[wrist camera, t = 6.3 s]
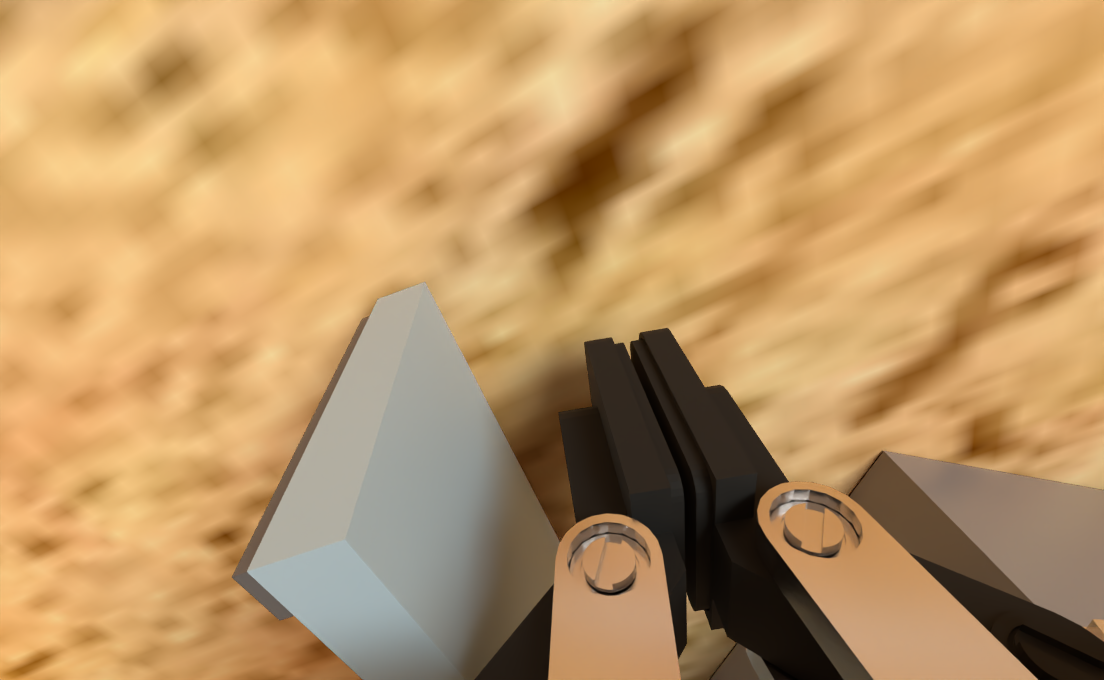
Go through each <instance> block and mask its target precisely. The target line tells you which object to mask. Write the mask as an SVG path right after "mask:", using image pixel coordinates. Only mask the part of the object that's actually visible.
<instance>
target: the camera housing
mask: <svg viewBox="0 0 1104 680" xmlns="http://www.w3.org/2000/svg"><path fill="white" fill-rule="evenodd" d="M849 497H850V498H851V499H852V500H854V501H855V502H856V503H858V504H859V505H860V506H861V507H862V508H863V509H864V510H865V511H866V512H867V513H868V514H869V515H871V516H872V517H873V518H874V519H875V520H876V521H877V522H878V523H879V524H880V525H881V526H882V527H883V528H884V529H885V530H886V531H887V532H888V533H889V534H890V535H891V536H892V537H893V538H894V539H895V540H896V541H897V542H898V543H899V544H900V545H901V546H902V547H903V548H904V549H905V550H906V551H907V552H908V553H911V554H913V555H916V556H918V557H921V558H923V559H925V560H928V561H930V562H933V563H935V564H938V565H940V566H943V567H945V568H947V569H950V570H952V571H955V572H957V573H960V574H962V575H965V576H967V577H969V578H972V579H974V580H977V581H979V582H982V583H984V584H987V585H989V586H991V587H994V588H996V589H999V590H1001V591H1004V592H1006V593H1009V594H1011V595H1013V596H1016V597H1018V598H1021V599H1023V600H1026V601H1028V602H1030V603H1033V604H1035V605H1038V606H1040V607H1043V608H1045V609H1048V610H1050V611H1052V612H1055V613H1057V614H1059V615H1061V616H1063V617H1065V618H1067V619H1069V620H1071V621H1073V622H1075V623H1077V624H1079V625H1081V626H1082V627H1088V625H1089V624H1090V622H1091V621H1092V619H1099V620H1104V490H1100V489H1095V488H1089V487H1083V486H1078V485H1072V484H1066V483H1061V482H1055V481H1050V480H1044V479H1038V478H1033V477H1027V476H1021V475H1016V474H1010V473H1005V472H999V471H993V470H988V469H982V468H976V467H971V466H965V465H960V464H954V463H948V462H943V461H937V460H932V459H926V458H920V457H915V456H909V455H903V454H898V453H892V452H887V451H883V453H882V454H881V455H880V457H879V458H878V459H877V461H876V462H875V463H874V464H873V466H872V467H871V468H870V470H869V471H868V472H867V474H866V475H865V476H864V478H863V479H862V480H861V482H860V483H859V484H858V486H857V487H856V488H855V489H854V491H853V492H852V493H851V495H850V496H849ZM710 680H760V679H759V677H758V675H757V674H756V672H755V670H754V668H753V667H752V664H751V662H750V659H749V657H748V655H747V652H746V648H745V647H743V646H742V645H740V644H739V643H738V644H737V645H736V646H735V648H734V649H733V650H732V652H731V653H730V654H729V655H728V657H727V658H726V659H725V661H724V662H723V663H722V665H721V666H720V667H719V669H718V670H717V671H716V673H715V674H714V675H713V677H712V678H711V679H710Z"/></svg>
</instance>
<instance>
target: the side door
mask: <svg viewBox="0 0 1104 680" xmlns="http://www.w3.org/2000/svg"><path fill="white" fill-rule="evenodd" d="M559 543H560V541H559V539H558V537H557V535H556V534H555V532H554V530H553V528H552V526H551V524H550V522H549V520H548V518H547V516H546V514H545V512H544V510H543V508H542V507H541V505H540V503H539V501H538V499H537V497H536V495H535V493H534V491H533V489H532V487H531V485H530V483H529V481H528V480H527V478H526V476H525V474H524V472H523V470H522V468H521V466H520V464H519V462H518V460H517V458H516V456H515V455H514V453H513V451H512V449H511V447H510V445H509V443H508V441H507V439H506V437H505V435H504V433H503V431H502V429H501V428H500V426H499V424H498V422H497V420H496V418H495V416H494V414H493V412H492V410H491V408H490V406H489V404H488V402H487V401H486V399H485V397H484V395H483V393H482V391H481V389H480V387H479V385H478V383H477V381H476V379H475V377H474V375H473V374H472V372H471V370H470V368H469V366H468V364H467V362H466V360H465V358H464V356H463V354H462V352H461V350H460V348H459V347H458V345H457V343H456V341H455V339H454V337H453V335H452V333H451V331H450V329H449V327H448V325H447V323H446V321H445V320H444V318H443V316H442V314H441V312H440V310H439V308H438V306H437V304H436V302H435V300H434V298H433V296H432V294H431V293H430V291H429V289H428V287H427V285H426V283H425V282H423V283H420V284H418V285H415V286H412V287H410V288H407V289H404V290H401V291H399V292H396V293H393V294H390V295H388V296H385V297H382V298H380V299H378V300H377V302H376V304H375V306H374V308H373V310H372V312H371V314H370V316H369V317H366V318H364V319H362V320H361V322H360V324H359V326H358V328H357V330H356V332H355V334H354V336H353V338H352V340H351V342H350V344H349V346H348V348H347V350H346V352H345V354H344V356H343V358H342V360H341V362H340V364H339V366H338V368H337V370H336V372H335V374H334V376H333V378H332V380H331V382H330V384H329V386H328V388H327V390H326V392H325V394H324V396H323V397H322V399H321V401H320V403H319V405H318V407H317V409H316V411H315V413H314V415H313V417H312V419H311V421H310V423H309V425H308V427H307V429H306V431H305V433H304V435H303V437H302V439H301V441H300V443H299V445H298V447H297V449H296V451H295V453H294V455H293V457H292V459H291V461H290V463H289V465H288V467H287V469H286V471H285V473H284V475H283V477H282V479H281V481H280V483H279V485H278V487H277V489H276V491H275V493H274V495H273V497H272V498H271V500H270V502H269V504H268V506H267V508H266V510H265V512H264V514H263V516H262V518H261V520H260V522H259V524H258V526H257V528H256V530H255V532H254V534H253V536H252V538H251V540H250V542H249V544H248V546H247V548H246V550H245V552H244V554H243V556H242V558H241V560H240V562H239V564H238V566H237V568H236V570H235V572H234V574H233V576H232V578H233V579H234V580H235V581H236V582H238V583H239V584H240V585H241V586H242V587H243V588H244V589H245V590H246V591H248V592H249V593H250V594H251V595H252V596H253V597H254V598H255V599H256V600H258V601H259V602H260V603H261V604H262V605H263V606H264V607H265V608H266V609H268V610H269V611H270V612H271V613H272V614H273V615H274V616H275V617H276V618H278V619H279V620H283V619H286V618H289V617H292V616H295V617H296V618H297V619H298V620H299V621H300V622H301V623H302V624H303V625H305V626H306V627H307V628H308V629H309V630H310V631H311V632H312V633H313V634H314V635H315V636H316V637H317V638H318V639H320V640H321V641H322V642H323V643H324V644H325V645H326V646H327V647H328V648H329V649H330V650H331V651H332V652H334V653H335V654H336V655H337V656H338V657H339V658H340V659H341V660H342V661H343V662H344V663H345V664H346V665H347V666H349V667H350V668H351V669H352V670H353V671H354V672H355V673H356V674H357V675H358V676H359V677H360V678H361V679H363V680H474V679H475V678H476V677H477V676H478V675H479V673H480V672H481V671H482V670H483V668H484V667H485V666H486V665H487V664H488V662H489V661H490V660H491V659H492V658H493V656H494V655H495V654H496V653H497V652H498V650H499V649H500V648H501V647H502V645H503V644H504V643H505V642H506V641H507V639H508V638H509V637H510V636H511V635H512V633H513V632H514V631H515V630H516V629H517V627H518V626H519V625H520V624H521V623H522V621H523V620H524V619H525V618H526V616H527V615H528V614H529V613H530V612H531V610H532V609H533V608H534V607H535V606H536V604H537V603H538V602H539V601H540V600H541V598H542V597H543V596H544V595H545V593H546V592H547V591H548V590H549V589H550V587H551V586H552V585H553V584H554V576H555V559H556V555H557V550H558V546H559Z"/></svg>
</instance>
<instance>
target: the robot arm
mask: <svg viewBox="0 0 1104 680" xmlns="http://www.w3.org/2000/svg"><path fill="white" fill-rule="evenodd" d="M584 346H585V355H586V363H587V371H588V379H589V386H590V394H591V402H592V407H587V408H581V409H575V410H569V411H563V412H558V413H559V420H560V426H561V432H562V438H563V444H564V450H565V457H566V463H567V469H568V475H569V481H570V487H571V494H572V500H573V506H574V512H575V518H576V524H575V525H574V526H573V527H572V528H571V529H570V530H568V531H567V532H566V534H565V535H564V537H563V539H562V540H561V542H560V543H559V546H558V550H557V555H556V559H555V576H554V584H553V585H552V586H551V587H550V589H549V590H548V591H547V592H546V593H545V595H544V596H543V597H542V598H541V600H540V601H539V602H538V603H537V604H536V606H535V607H534V608H533V609H532V610H531V612H530V613H529V614H528V615H527V616H526V618H525V619H524V620H523V621H522V623H521V624H520V625H519V626H518V627H517V629H516V630H515V631H514V632H513V633H512V635H511V636H510V637H509V638H508V639H507V641H506V642H505V643H504V644H503V645H502V647H501V648H500V649H499V650H498V652H497V653H496V654H495V655H494V656H493V658H492V659H491V660H490V661H489V662H488V664H487V665H486V666H485V667H484V668H483V670H482V671H481V672H480V673H479V675H478V676H477V677H476V678H475V679H474V680H681V677H680V670H679V663H678V659H679V657H680V655H681V653H682V651H683V650H684V648H685V646H686V644H687V616H686V592H687V595H688V598H689V601H690V604H691V606H692V608H693V610H694V611H699V610H704V611H705V614H706V616H707V619H708V622H709V624H710V627H711V630H714V629H720V628H724V629H725V632H726V634H727V637H729V638H730V639H732V640H734V641H735V642H737V643H739V644H740V645H742V646H743V647H745V648H746V652H747V655H748V657H749V659H750V662H751V664H752V667H753V668H754V670H755V672H756V674H757V675H758V677H759V679H760V680H1104V620H1099V619H1092V621H1091V622H1090V624H1089V625H1088V627H1082V626H1081V625H1079V624H1077V623H1075V622H1073V621H1071V620H1069V619H1067V618H1065V617H1063V616H1061V615H1059V614H1057V613H1055V612H1052V611H1050V610H1048V609H1045V608H1043V607H1040V606H1038V605H1035V604H1033V603H1030V602H1028V601H1026V600H1023V599H1021V598H1018V597H1016V596H1013V595H1011V594H1009V593H1006V592H1004V591H1001V590H999V589H996V588H994V587H991V586H989V585H987V584H984V583H982V582H979V581H977V580H974V579H972V578H969V577H967V576H965V575H962V574H960V573H957V572H955V571H952V570H950V569H947V568H945V567H943V566H940V565H938V564H935V563H933V562H930V561H928V560H925V559H923V558H921V557H918V556H916V555H913V554H911V553H908V552H907V551H906V550H905V549H904V548H903V547H902V546H901V545H900V544H899V543H898V542H897V541H896V540H895V539H894V538H893V537H892V536H891V535H890V534H889V533H888V532H887V531H886V530H885V529H884V528H883V527H882V526H881V525H880V524H879V523H878V522H877V521H876V520H875V519H874V518H873V517H872V516H871V515H869V514H868V513H867V512H866V511H865V510H864V509H863V508H862V507H861V506H860V505H859V504H858V503H856V502H855V501H854V500H852V499H851V498H850V497H849V496H847V495H845V494H843V493H841V492H839V491H837V490H835V489H833V488H831V487H828V486H825V485H821V484H817V483H814V482H801V481H794V482H789V481H788V480H787V478H786V477H785V475H784V474H783V473H782V471H781V470H780V468H779V467H778V465H777V464H776V462H775V461H774V459H773V458H772V456H771V455H770V453H769V452H768V450H767V449H766V447H765V446H764V444H763V443H762V441H761V440H760V438H759V437H758V435H757V434H756V432H755V431H754V430H753V428H752V427H751V425H750V424H749V422H748V421H747V419H746V418H745V416H744V415H743V413H742V412H741V410H740V409H739V407H738V406H737V404H736V403H735V401H734V400H733V398H732V397H731V395H730V394H729V392H728V391H727V390H726V389H725V388H724V386H721V385H717V386H711V387H704V385H703V383H702V382H701V380H700V379H699V377H698V375H697V374H696V372H695V370H694V369H693V367H692V366H691V364H690V362H689V361H688V359H687V357H686V356H685V354H684V353H683V351H682V349H681V348H680V346H679V344H678V343H677V341H676V339H675V338H674V336H673V335H672V333H671V331H670V330H669V329H668V328H664V329H658V330H652V331H646V332H640V334H639V340H636V341H631V342H630V351H631V359H630V356H629V354H628V352H627V349H626V347H625V345H624V343H618V344H614V341H613V339H612V338H605V339H599V340H593V341H587V342H584Z"/></svg>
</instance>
